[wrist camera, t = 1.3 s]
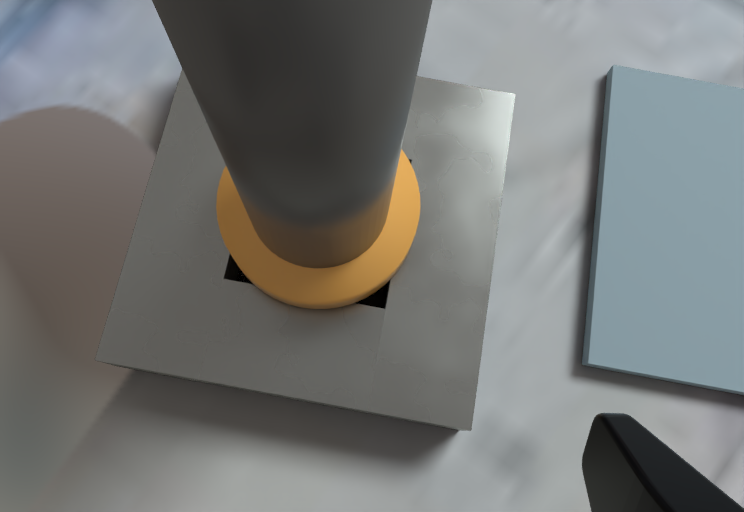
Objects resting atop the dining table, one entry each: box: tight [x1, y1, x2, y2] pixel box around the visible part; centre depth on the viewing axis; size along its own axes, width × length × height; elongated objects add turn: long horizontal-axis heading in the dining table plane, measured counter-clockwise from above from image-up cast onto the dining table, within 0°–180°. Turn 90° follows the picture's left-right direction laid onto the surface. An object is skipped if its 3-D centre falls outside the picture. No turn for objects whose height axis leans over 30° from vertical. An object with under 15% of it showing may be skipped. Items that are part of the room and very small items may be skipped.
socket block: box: [95, 68, 515, 431], centre depth 22 cm, size 12×12×2 cm
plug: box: [152, 0, 432, 309], centre depth 15 cm, size 6×6×17 cm
